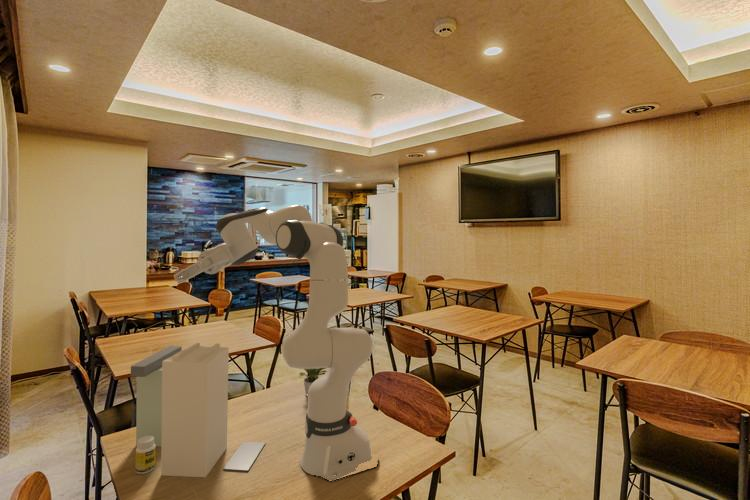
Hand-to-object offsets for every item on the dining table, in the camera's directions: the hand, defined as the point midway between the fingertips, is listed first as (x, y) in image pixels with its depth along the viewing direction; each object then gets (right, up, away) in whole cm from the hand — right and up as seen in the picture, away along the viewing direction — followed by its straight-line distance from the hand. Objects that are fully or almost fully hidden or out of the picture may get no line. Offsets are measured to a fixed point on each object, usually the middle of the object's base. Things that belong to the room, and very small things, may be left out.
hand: (187, 272), depth 124 cm
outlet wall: (+10, -53, -15) cm, 56 cm away
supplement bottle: (-2, -53, -19) cm, 56 cm away
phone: (+23, -54, -12) cm, 60 cm away
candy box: (+47, -53, +17) cm, 73 cm away
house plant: (+35, -52, +31) cm, 70 cm away
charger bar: (-7, -28, -5) cm, 30 cm away
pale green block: (-8, -52, -3) cm, 53 cm away
